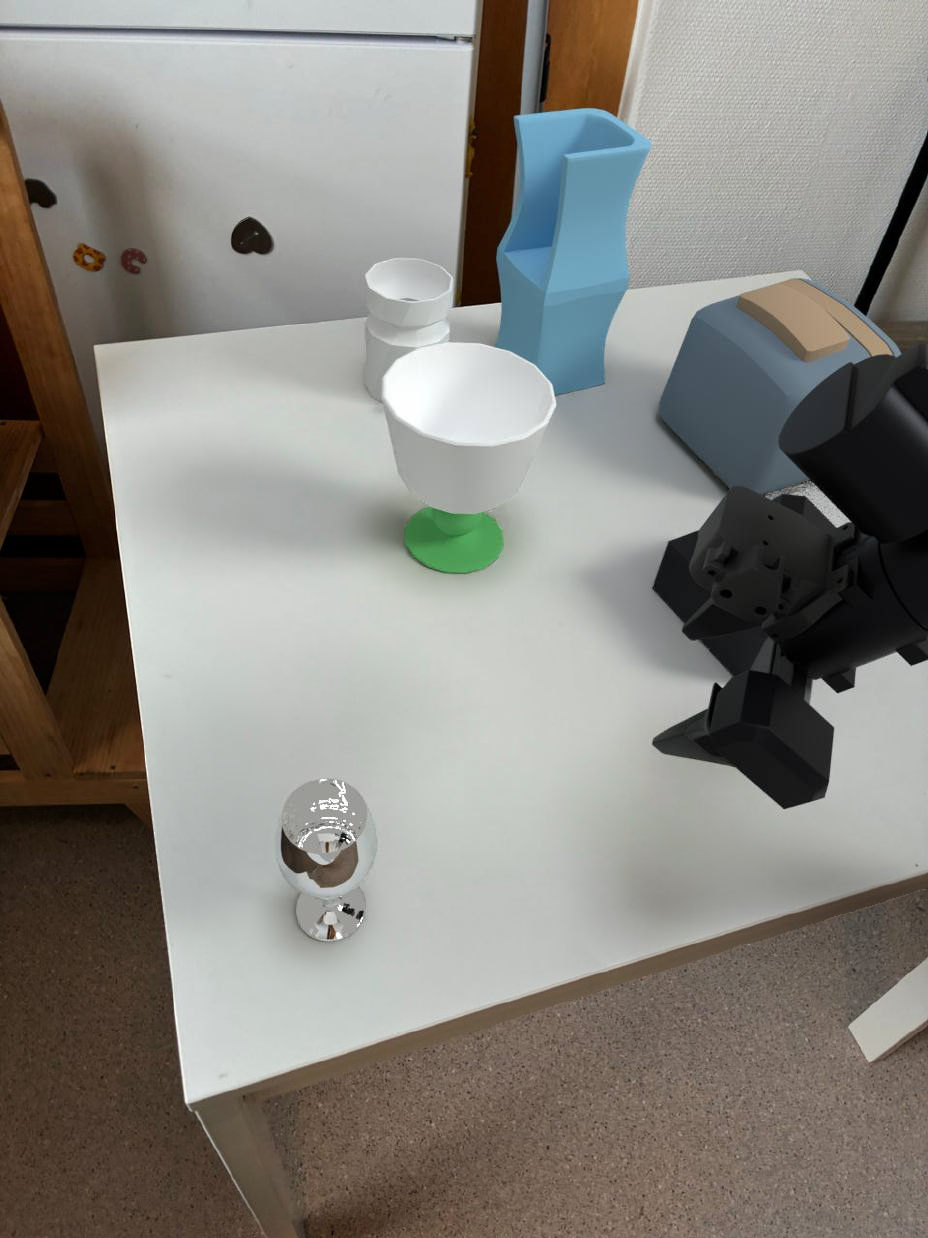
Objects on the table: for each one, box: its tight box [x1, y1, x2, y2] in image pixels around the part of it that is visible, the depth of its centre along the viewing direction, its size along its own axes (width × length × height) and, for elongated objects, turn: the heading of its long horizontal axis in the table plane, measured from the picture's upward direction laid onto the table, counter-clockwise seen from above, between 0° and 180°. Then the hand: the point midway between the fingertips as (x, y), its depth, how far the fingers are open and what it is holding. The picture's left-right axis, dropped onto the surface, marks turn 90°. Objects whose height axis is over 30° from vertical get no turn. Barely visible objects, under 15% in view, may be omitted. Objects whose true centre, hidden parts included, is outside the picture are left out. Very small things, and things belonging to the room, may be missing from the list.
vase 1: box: [363, 257, 454, 404], centre depth 92 cm, size 9×9×12 cm
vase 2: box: [494, 107, 652, 397], centre depth 91 cm, size 10×10×25 cm
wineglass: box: [274, 778, 378, 943], centre depth 53 cm, size 6×6×12 cm
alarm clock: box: [658, 277, 902, 496], centre depth 89 cm, size 16×16×16 cm
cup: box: [381, 341, 557, 574], centre depth 76 cm, size 14×14×16 cm
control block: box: [651, 529, 773, 677], centre depth 75 cm, size 12×10×8 cm
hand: (672, 687), depth 54 cm, fingers open, 9 cm apart
